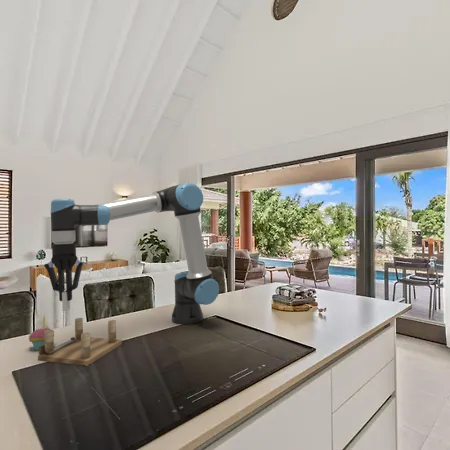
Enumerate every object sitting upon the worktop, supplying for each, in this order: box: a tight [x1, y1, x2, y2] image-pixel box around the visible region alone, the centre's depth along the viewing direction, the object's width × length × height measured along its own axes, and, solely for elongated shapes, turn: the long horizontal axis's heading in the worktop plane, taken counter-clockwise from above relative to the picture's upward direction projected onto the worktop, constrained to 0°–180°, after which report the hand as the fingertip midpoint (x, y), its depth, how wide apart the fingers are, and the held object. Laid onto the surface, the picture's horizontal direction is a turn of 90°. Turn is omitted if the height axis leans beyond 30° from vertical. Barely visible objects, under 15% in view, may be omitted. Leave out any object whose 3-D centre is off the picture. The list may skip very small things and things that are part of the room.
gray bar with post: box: [44, 329, 77, 353], centre depth 119 cm, size 3×14×8 cm, turn 165°
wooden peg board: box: [37, 317, 123, 367], centre depth 119 cm, size 20×20×10 cm
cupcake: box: [28, 314, 55, 351], centre depth 124 cm, size 9×8×12 cm
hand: (66, 309), depth 114 cm, fingers closed
